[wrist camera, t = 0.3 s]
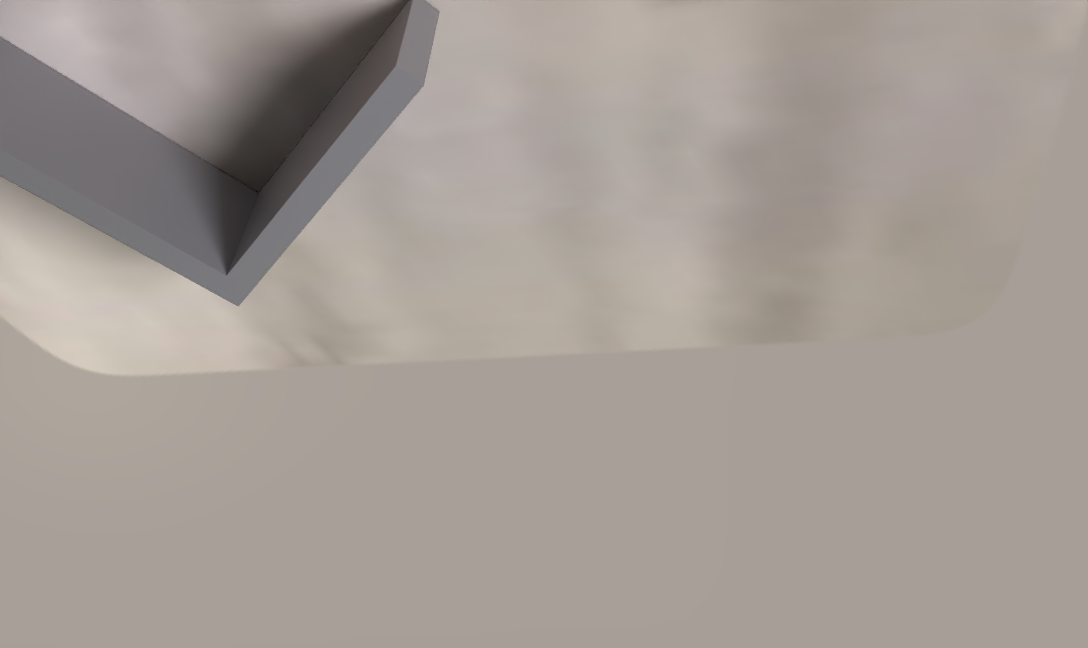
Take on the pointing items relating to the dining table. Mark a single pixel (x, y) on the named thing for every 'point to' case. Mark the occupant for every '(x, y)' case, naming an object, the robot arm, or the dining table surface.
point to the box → (198, 162)
